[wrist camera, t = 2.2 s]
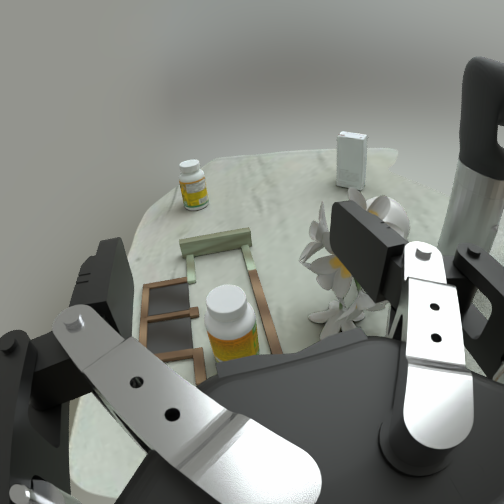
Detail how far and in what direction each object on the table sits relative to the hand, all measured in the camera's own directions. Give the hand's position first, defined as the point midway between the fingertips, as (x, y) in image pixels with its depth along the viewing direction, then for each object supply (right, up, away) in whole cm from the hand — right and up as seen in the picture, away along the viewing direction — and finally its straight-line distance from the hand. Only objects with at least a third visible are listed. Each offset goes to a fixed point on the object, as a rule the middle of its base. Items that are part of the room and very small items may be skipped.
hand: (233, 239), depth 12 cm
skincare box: (+23, +14, +58) cm, 64 cm away
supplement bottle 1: (-11, +9, +55) cm, 57 cm away
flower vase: (+16, -5, +33) cm, 37 cm away
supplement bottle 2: (-1, -13, +25) cm, 28 cm away
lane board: (-6, -8, +32) cm, 34 cm away
